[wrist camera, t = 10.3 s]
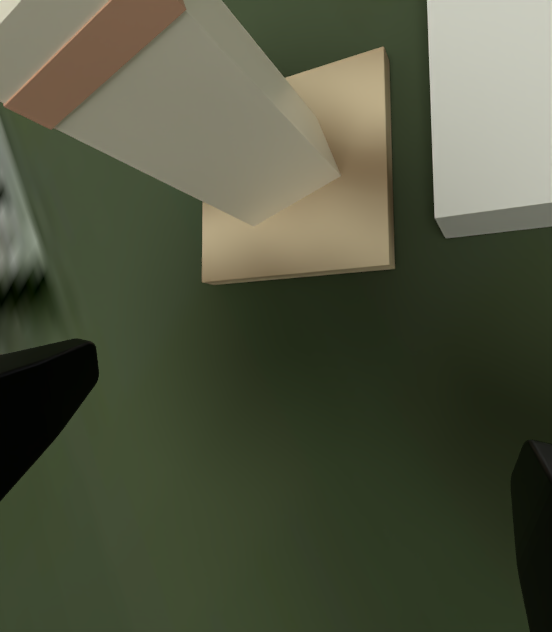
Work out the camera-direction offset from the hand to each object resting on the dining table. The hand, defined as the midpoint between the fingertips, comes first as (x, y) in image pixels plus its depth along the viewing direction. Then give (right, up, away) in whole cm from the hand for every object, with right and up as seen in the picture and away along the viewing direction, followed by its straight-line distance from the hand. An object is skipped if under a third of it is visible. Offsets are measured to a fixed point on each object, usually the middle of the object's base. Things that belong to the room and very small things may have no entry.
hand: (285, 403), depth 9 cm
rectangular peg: (0, +8, +11) cm, 13 cm away
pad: (+1, +8, +12) cm, 14 cm away
